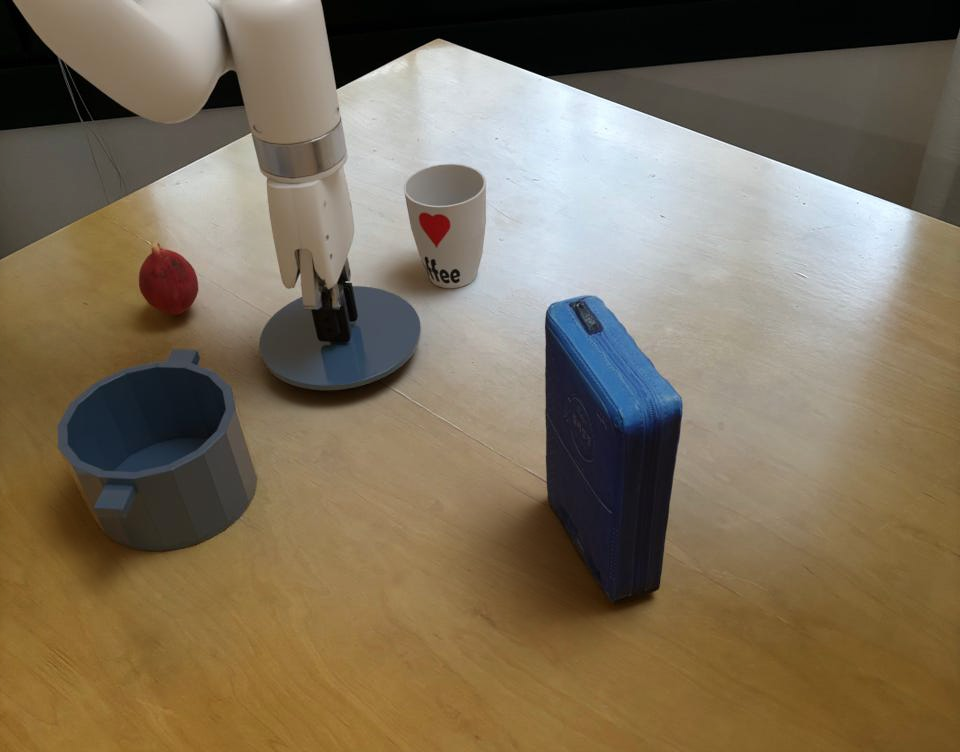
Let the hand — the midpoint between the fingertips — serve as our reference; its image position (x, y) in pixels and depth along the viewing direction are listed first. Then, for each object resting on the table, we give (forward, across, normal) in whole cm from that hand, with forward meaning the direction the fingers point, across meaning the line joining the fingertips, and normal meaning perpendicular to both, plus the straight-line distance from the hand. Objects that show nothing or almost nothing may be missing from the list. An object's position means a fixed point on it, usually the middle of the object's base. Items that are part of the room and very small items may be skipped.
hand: (338, 328), depth 104 cm
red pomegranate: (+3, -6, -19) cm, 20 cm away
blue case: (+3, +24, +27) cm, 36 cm away
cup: (+3, -14, +9) cm, 17 cm away
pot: (+3, +20, -11) cm, 23 cm away
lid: (+1, 0, 0) cm, 1 cm away
